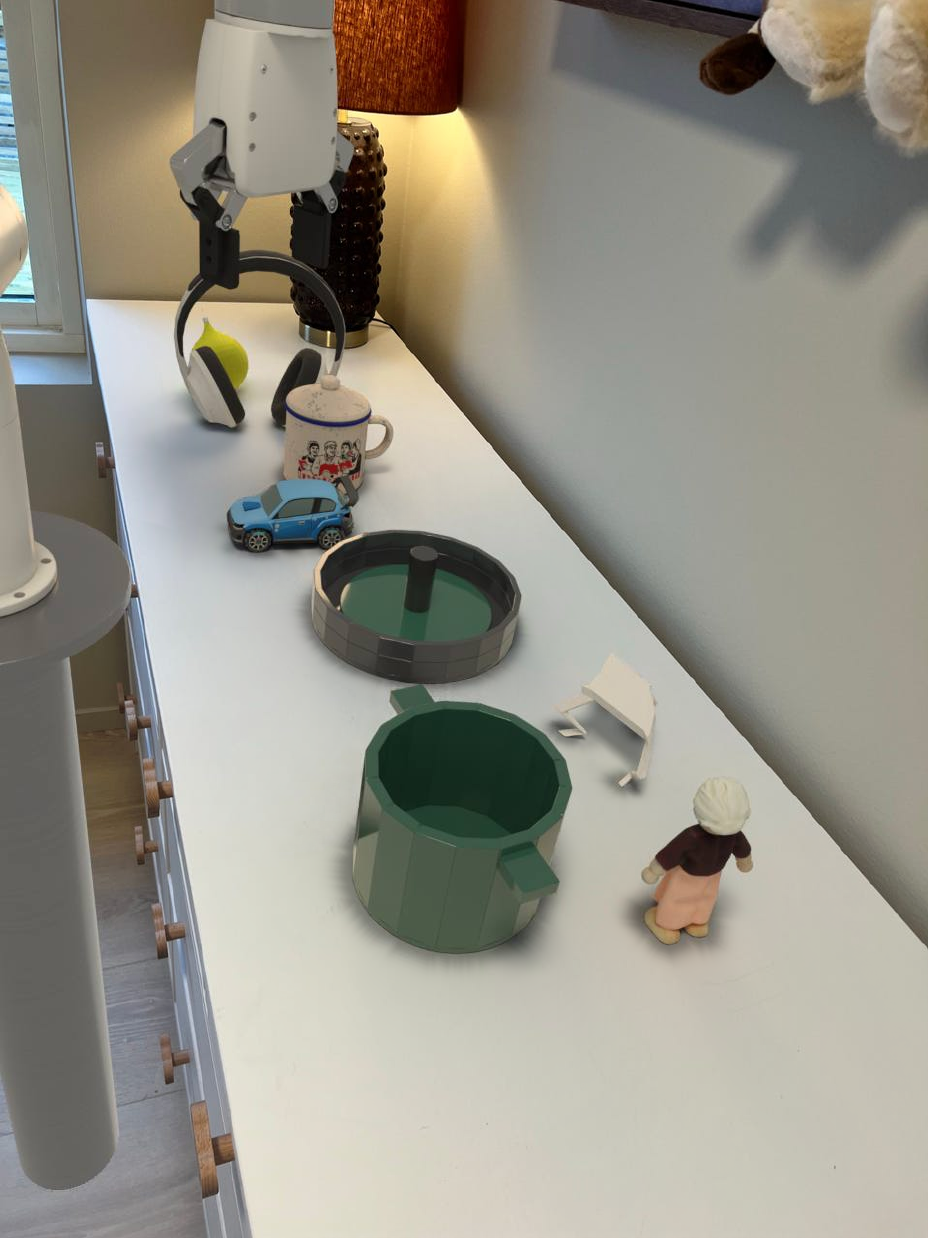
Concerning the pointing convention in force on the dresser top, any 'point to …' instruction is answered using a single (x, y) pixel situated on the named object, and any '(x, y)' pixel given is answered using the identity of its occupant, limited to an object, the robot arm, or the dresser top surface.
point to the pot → (457, 822)
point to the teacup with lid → (329, 432)
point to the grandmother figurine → (699, 861)
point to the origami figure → (618, 705)
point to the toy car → (294, 514)
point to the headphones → (209, 374)
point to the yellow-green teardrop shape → (225, 352)
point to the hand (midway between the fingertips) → (266, 272)
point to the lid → (416, 601)
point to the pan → (407, 655)
